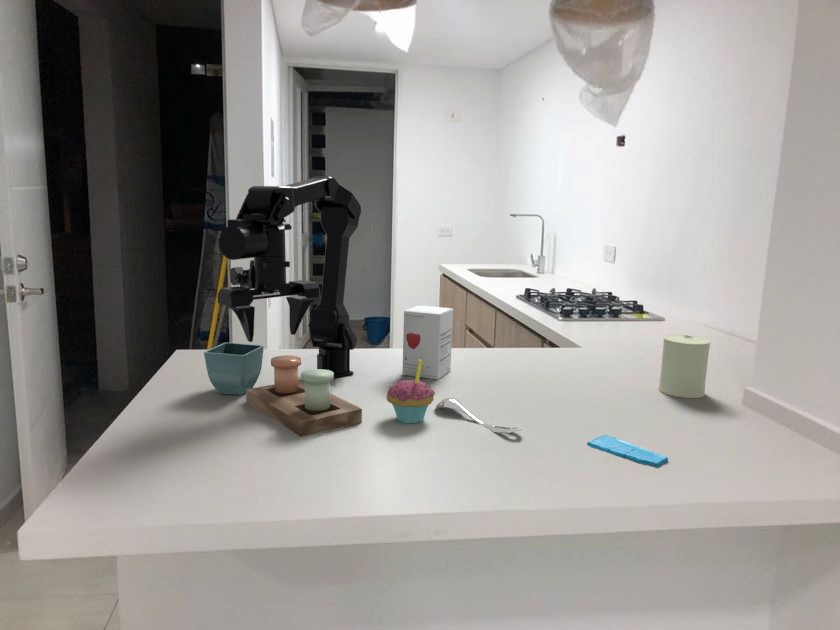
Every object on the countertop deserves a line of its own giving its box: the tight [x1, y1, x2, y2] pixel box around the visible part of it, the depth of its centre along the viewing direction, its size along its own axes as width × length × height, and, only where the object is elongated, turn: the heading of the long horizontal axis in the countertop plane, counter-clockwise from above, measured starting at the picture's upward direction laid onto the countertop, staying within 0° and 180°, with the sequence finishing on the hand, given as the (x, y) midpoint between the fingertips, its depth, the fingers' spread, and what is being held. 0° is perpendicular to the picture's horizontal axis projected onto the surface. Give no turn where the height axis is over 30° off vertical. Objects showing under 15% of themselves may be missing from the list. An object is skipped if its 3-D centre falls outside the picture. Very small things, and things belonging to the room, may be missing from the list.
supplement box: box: [402, 304, 454, 380], centre depth 139 cm, size 9×9×15 cm
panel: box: [245, 379, 363, 438], centre depth 112 cm, size 12×22×2 cm, turn 39°
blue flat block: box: [586, 434, 669, 468], centre depth 97 cm, size 2×12×6 cm
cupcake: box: [386, 356, 436, 424], centre depth 109 cm, size 9×8×12 cm
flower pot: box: [203, 342, 265, 396], centre depth 123 cm, size 9×9×9 cm
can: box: [657, 334, 711, 399], centre depth 130 cm, size 9×9×12 cm
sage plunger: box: [300, 368, 335, 411], centre depth 107 cm, size 6×6×6 cm
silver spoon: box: [434, 397, 523, 434], centre depth 109 cm, size 20×4×5 cm
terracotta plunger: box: [270, 355, 302, 393], centre depth 116 cm, size 6×6×6 cm
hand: (272, 337), depth 116 cm, fingers open, 9 cm apart
